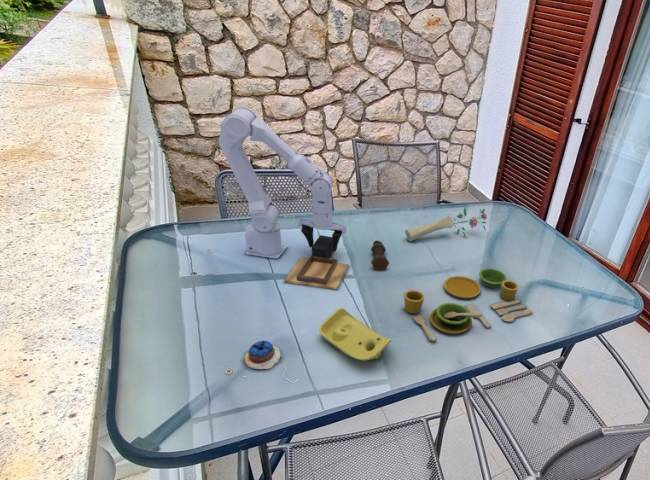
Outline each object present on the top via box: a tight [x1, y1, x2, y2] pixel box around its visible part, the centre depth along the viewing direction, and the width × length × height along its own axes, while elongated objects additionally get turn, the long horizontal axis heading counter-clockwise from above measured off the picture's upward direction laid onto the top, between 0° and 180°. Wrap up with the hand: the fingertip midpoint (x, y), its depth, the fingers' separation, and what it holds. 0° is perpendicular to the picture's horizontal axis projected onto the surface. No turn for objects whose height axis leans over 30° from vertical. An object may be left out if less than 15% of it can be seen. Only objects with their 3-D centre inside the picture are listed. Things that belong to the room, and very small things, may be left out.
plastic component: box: [318, 307, 392, 361], centre depth 110 cm, size 20×7×10 cm
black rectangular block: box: [311, 234, 334, 258], centre depth 142 cm, size 4×9×5 cm, turn 4°
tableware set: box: [403, 268, 533, 343], centre depth 137 cm, size 41×28×6 cm
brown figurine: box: [370, 240, 390, 271], centre depth 148 cm, size 6×5×15 cm
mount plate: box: [284, 255, 349, 290], centre depth 133 cm, size 15×14×2 cm
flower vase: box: [404, 207, 488, 243], centre depth 173 cm, size 12×12×35 cm
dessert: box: [244, 340, 281, 370], centre depth 101 cm, size 8×7×6 cm
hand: (323, 247), depth 142 cm, fingers open, 7 cm apart
